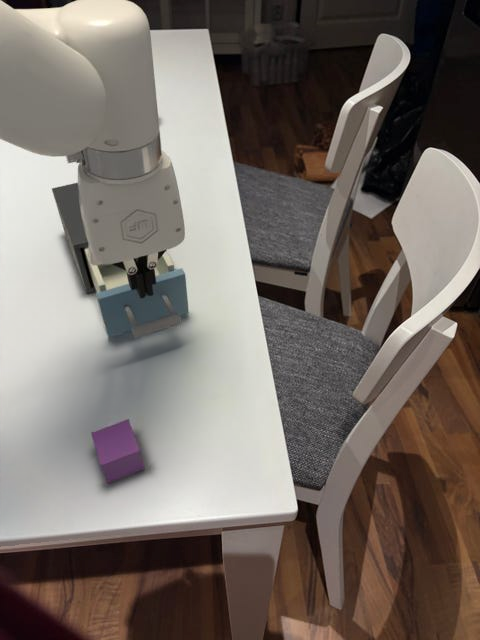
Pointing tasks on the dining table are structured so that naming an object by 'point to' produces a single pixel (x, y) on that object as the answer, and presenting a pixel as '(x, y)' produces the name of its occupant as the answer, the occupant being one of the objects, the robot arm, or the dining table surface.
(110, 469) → the cube
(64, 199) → the grey drawer cabinet
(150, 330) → the drawer
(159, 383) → the dining table surface
